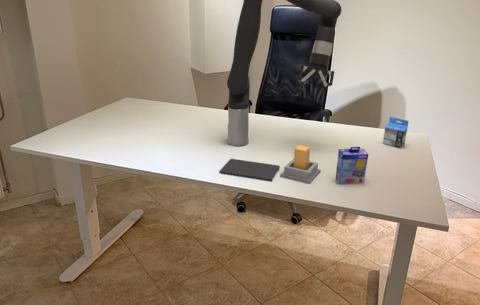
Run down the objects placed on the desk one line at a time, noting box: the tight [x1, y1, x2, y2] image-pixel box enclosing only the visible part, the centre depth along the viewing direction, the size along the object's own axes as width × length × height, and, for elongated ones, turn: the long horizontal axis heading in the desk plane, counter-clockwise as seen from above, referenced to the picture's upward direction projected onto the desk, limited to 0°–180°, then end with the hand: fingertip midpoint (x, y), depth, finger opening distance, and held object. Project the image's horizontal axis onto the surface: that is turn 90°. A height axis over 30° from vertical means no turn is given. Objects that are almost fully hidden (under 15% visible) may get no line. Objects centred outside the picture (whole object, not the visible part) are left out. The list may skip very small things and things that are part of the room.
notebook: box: [218, 158, 281, 182], centre depth 156 cm, size 13×2×21 cm
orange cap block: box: [293, 144, 311, 171], centre depth 151 cm, size 4×4×10 cm
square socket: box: [279, 158, 322, 185], centre depth 153 cm, size 12×12×4 cm
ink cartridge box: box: [335, 146, 369, 185], centre depth 146 cm, size 10×6×14 cm, turn 95°
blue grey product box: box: [382, 116, 409, 149], centre depth 179 cm, size 9×4×12 cm, turn 47°
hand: (311, 93), depth 163 cm, fingers open, 8 cm apart
